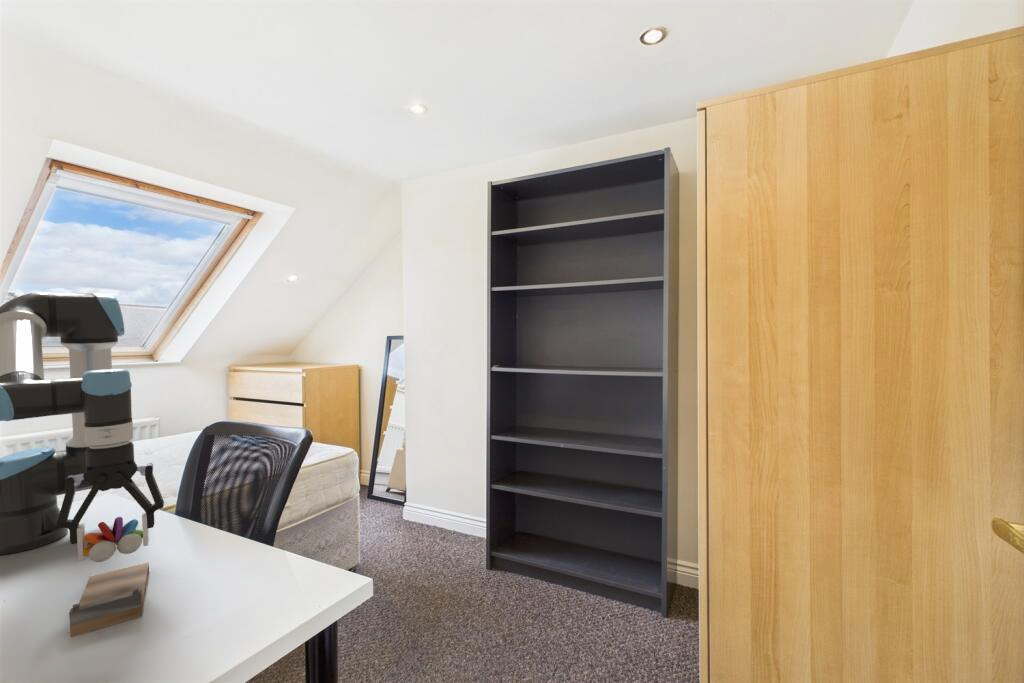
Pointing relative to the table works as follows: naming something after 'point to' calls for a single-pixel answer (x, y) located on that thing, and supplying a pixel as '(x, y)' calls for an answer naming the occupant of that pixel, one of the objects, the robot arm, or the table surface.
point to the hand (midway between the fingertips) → (115, 550)
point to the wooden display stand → (110, 599)
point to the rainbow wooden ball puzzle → (113, 540)
